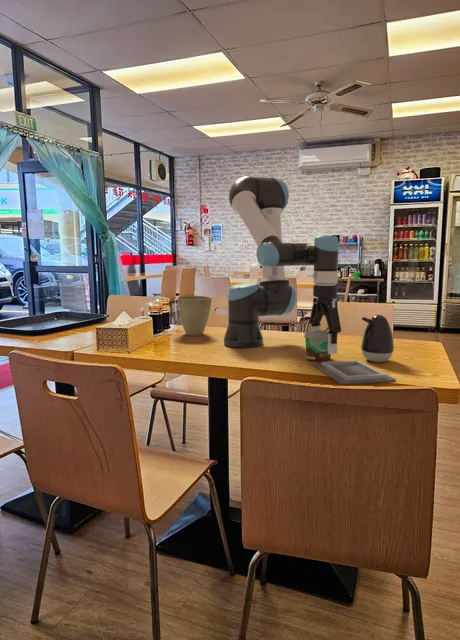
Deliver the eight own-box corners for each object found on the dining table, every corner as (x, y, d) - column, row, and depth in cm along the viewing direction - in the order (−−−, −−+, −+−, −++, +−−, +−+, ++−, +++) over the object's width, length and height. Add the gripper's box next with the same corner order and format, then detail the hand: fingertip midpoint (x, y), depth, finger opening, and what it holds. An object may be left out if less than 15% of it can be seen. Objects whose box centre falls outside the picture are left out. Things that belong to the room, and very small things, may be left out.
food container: (318, 365, 141) (319, 333, 139) (303, 361, 145) (304, 331, 144) (341, 358, 149) (342, 329, 147) (326, 355, 153) (327, 327, 152)
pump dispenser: (357, 356, 152) (359, 312, 150) (388, 357, 151) (391, 312, 149) (363, 363, 142) (365, 316, 140) (396, 364, 141) (399, 317, 138)
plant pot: (179, 338, 185) (179, 299, 182) (175, 331, 199) (175, 296, 196) (215, 336, 188) (214, 298, 186) (208, 330, 202) (208, 295, 200)
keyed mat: (313, 366, 139) (313, 361, 139) (360, 363, 142) (361, 358, 142) (341, 384, 120) (341, 378, 119) (395, 381, 123) (396, 375, 122)
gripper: (300, 282, 155) (299, 342, 158) (330, 287, 130) (328, 358, 133) (321, 282, 156) (319, 341, 159) (354, 286, 132) (351, 357, 135)
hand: (323, 349), depth 146 cm, fingers open, 13 cm apart
